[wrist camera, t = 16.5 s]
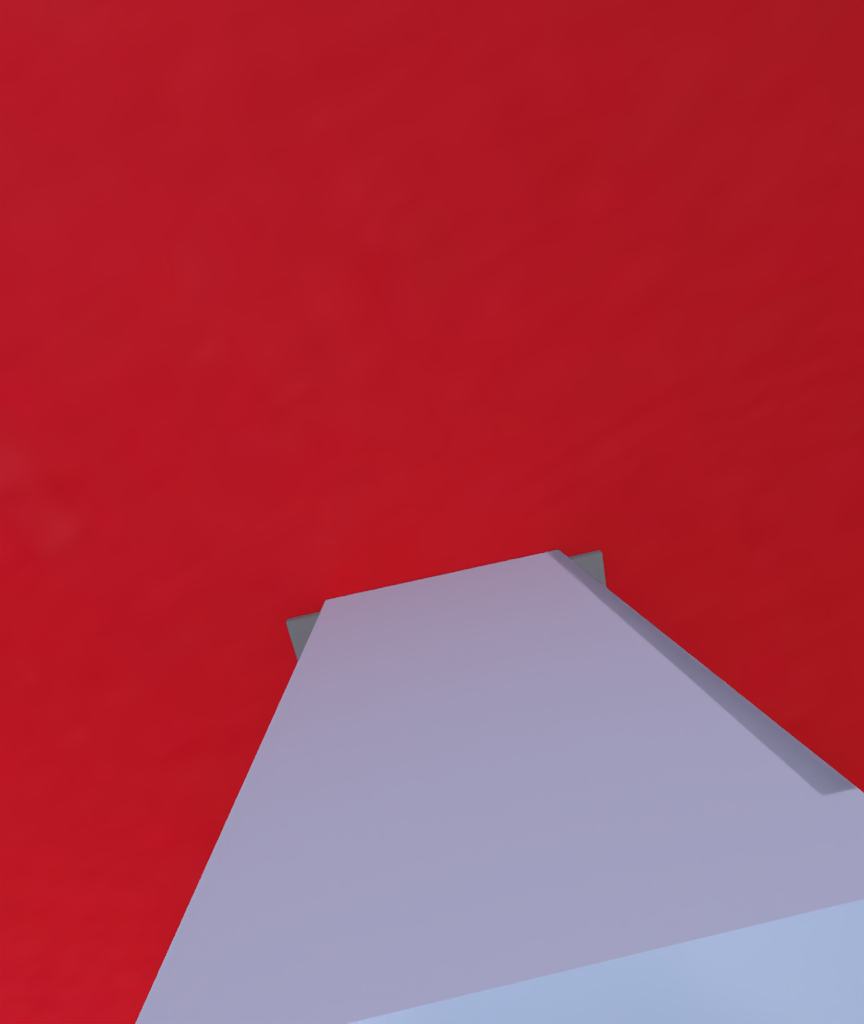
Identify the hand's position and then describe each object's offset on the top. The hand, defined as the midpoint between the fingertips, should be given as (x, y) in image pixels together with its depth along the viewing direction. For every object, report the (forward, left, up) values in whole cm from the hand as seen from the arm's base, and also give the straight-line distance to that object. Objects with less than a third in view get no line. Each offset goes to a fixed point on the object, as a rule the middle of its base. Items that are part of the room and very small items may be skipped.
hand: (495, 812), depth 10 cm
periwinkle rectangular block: (0, 0, -3) cm, 3 cm away
